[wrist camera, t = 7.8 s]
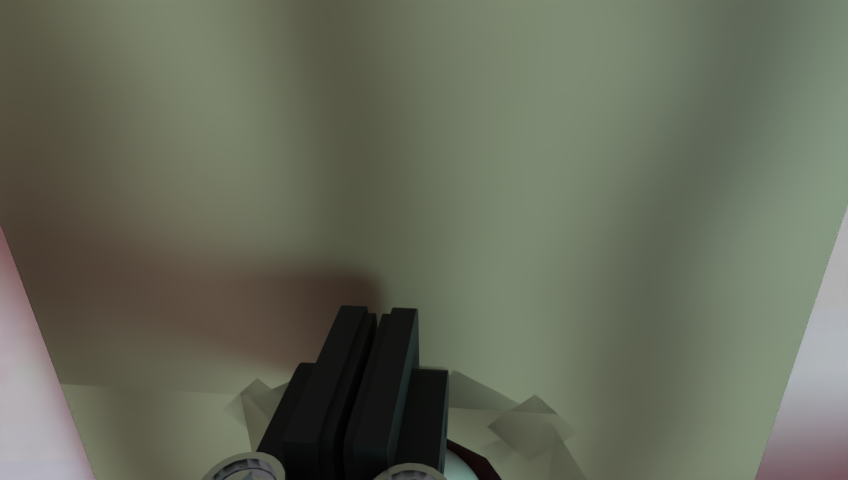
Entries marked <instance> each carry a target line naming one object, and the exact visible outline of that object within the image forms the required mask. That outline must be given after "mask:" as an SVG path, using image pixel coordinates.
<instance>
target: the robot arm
mask: <svg viewBox="0 0 848 480" xmlns="http://www.w3.org/2000/svg"><path fill="white" fill-rule="evenodd" d="M448 411H449V371H448V370H435V369H420V366H419V320H418V309H417V308H398V307H393V308H392V310H391V313H390V314H385V313H383V314H382V316H381V320H380V323H379V326H378V327H377V315H376V313H369V312H368V308H367V306H353V305H342V306H341V307H340V309H339V311H338V313H337V316H336V318H335V320H334V322H333V325H332V327H331V329H330V331H329V334H328V336H327V338H326V341H325V343H324V345H323V347H322V350H321V352H320V354H319V356H318V359H317V361H316V363H307V362H301V363H300V364H299V365H298V366H297V368H296V370H295V372H294V374H293V376H292V378H291V380H290V382H289V384H288V386H287V388H286V390H285V392H284V394H283V396H282V398H281V400H280V403H279V405H278V407H277V409H276V411H275V413H274V415H273V417H272V419H271V421H270V423H269V425H268V427H267V429H266V431H265V434H264V436H263V438H262V440H261V442H260V444H259V446H258V448H257V450H256V452H246V453H240V454H236V455H234V456H231V457H229V458H226V459H224V460H223V461H221V462H219V463H218V464H216V465H215V466H213V467H212V468H211V469H210V470H209V471H208V472H207V473H206V475H205V476H204V477H203V478H202V479H201V480H447V479H446V478H445V476H444V467H445V456H446V444H447V431H448Z"/></svg>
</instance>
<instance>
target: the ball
mask: <svg viewBox="0 0 848 480" xmlns="http://www.w3.org/2000/svg"><path fill="white" fill-rule="evenodd" d="M444 476H445V478H446V479H447V480H479V479H478V478H477V476H476V475H475V473H474V472H473V471H472V469H471V468H470V467H469V466H468V465H467V464H466V463H465V462H464V461H463V460H462V459H461V458H460V457H458V456H457V455H456V454H455V453H453V452H452V451H450V450H448V449H446V456H445V467H444Z"/></svg>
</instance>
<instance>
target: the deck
mask: <svg viewBox="0 0 848 480" xmlns="http://www.w3.org/2000/svg"><path fill="white" fill-rule="evenodd" d="M847 205H848V0H0V224H1V227H2V230H3V232H4V235H5V238H6V240H7V243H8V246H9V248H10V251H11V254H12V256H13V259H14V262H15V264H16V267H17V270H18V272H19V275H20V278H21V280H22V283H23V286H24V288H25V291H26V294H27V296H28V299H29V302H30V304H31V307H32V310H33V312H34V315H35V318H36V321H37V323H38V326H39V329H40V331H41V334H42V337H43V339H44V342H45V345H46V347H47V350H48V353H49V355H50V358H51V361H52V363H53V366H54V369H55V371H56V374H57V377H58V379H59V382H60V385H61V387H62V390H63V393H64V395H65V398H66V401H67V403H68V406H69V409H70V411H71V414H72V417H73V419H74V422H75V425H76V427H77V430H78V433H79V435H80V438H81V441H82V443H83V446H84V449H85V451H86V454H87V457H88V459H89V462H90V465H91V467H92V470H93V473H94V475H95V478H96V480H201V479H202V478H203V477H204V476H205V475H206V473H207V472H208V471H209V470H210V469H211V468H212V467H213V466H215V465H216V464H218V463H219V462H221V461H223V460H224V459H226V458H229V457H231V456H234V455H236V454H240V453H246V452H256V450H257V448H258V446H259V444H260V442H261V440H262V438H263V436H264V434H265V431H266V429H267V427H268V425H269V423H270V421H271V419H272V417H273V415H274V413H275V411H276V409H277V407H278V405H279V403H280V400H281V398H282V396H283V394H284V392H285V390H286V388H287V386H288V384H289V382H290V380H291V378H292V376H293V374H294V372H295V370H296V368H297V366H298V365H299V364H300V363H301V362H307V363H316V361H317V359H318V356H319V354H320V352H321V350H322V347H323V345H324V343H325V341H326V338H327V336H328V334H329V331H330V329H331V327H332V325H333V322H334V320H335V318H336V316H337V313H338V311H339V309H340V307H341V306H342V305H353V306H367V308H368V312H369V313H376V315H377V327H378V326H379V323H380V320H381V316H382V314H383V313H385V314H390V313H391V310H392V308H393V307H398V308H417V309H418V320H419V366H420V369H435V370H448V371H449V411H448V431H447V439H449V440H451V441H453V442H455V443H457V444H459V445H461V446H463V447H465V448H467V449H469V450H471V451H473V452H475V453H477V454H479V455H481V456H483V457H485V458H487V459H488V461H489V462H490V464H491V465H492V466H493V468H494V469H495V471H496V472H497V474H498V475H499V476H500V478H501V479H502V480H755V477H756V474H757V471H758V468H759V465H760V462H761V459H762V456H763V453H764V451H765V448H766V445H767V442H768V439H769V436H770V433H771V430H772V427H773V424H774V421H775V418H776V415H777V412H778V409H779V406H780V403H781V400H782V397H783V394H784V391H785V388H786V386H787V383H788V380H789V377H790V374H791V371H792V368H793V365H794V362H795V359H796V356H797V353H798V350H799V347H800V344H801V341H802V338H803V335H804V332H805V329H806V326H807V323H808V320H809V318H810V315H811V312H812V309H813V306H814V303H815V300H816V297H817V294H818V291H819V288H820V285H821V282H822V279H823V276H824V273H825V270H826V267H827V264H828V261H829V258H830V255H831V253H832V250H833V247H834V244H835V241H836V238H837V235H838V232H839V229H840V226H841V223H842V220H843V217H844V214H845V211H846V208H847Z"/></svg>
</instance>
